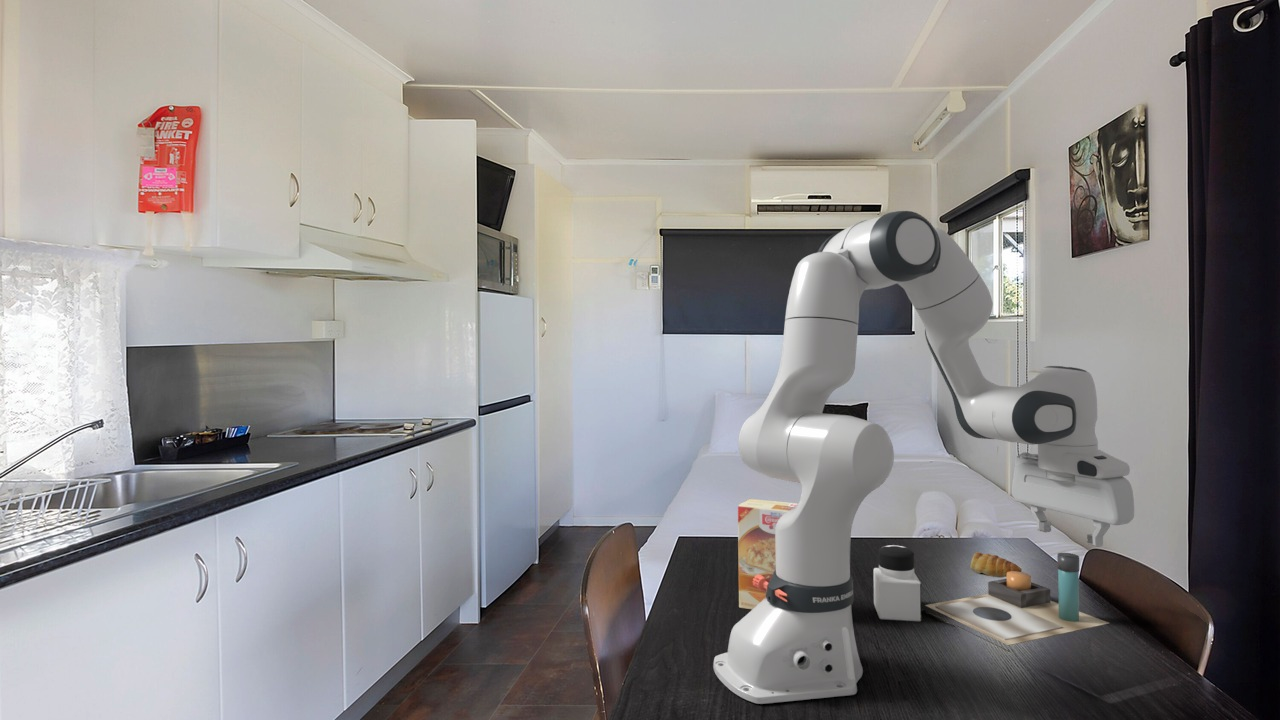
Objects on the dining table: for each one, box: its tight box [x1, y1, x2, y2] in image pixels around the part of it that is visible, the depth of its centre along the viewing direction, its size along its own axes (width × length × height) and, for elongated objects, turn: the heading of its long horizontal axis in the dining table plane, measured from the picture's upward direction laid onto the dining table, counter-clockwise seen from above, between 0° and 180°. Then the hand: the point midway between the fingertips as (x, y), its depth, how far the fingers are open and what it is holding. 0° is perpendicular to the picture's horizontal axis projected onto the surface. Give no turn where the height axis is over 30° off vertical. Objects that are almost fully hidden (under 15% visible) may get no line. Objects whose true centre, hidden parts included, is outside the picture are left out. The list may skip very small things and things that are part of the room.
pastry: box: [970, 551, 1023, 578], centre depth 143 cm, size 9×7×4 cm
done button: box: [1006, 571, 1032, 591], centre depth 126 cm, size 4×4×3 cm
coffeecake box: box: [737, 498, 799, 610], centre depth 126 cm, size 15×7×20 cm, turn 62°
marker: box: [1056, 552, 1080, 622], centre depth 116 cm, size 3×3×11 cm
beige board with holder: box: [924, 578, 1110, 652], centre depth 119 cm, size 23×18×4 cm
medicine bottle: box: [873, 544, 922, 622], centre depth 122 cm, size 7×7×12 cm
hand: (1068, 538), depth 116 cm, fingers open, 8 cm apart
